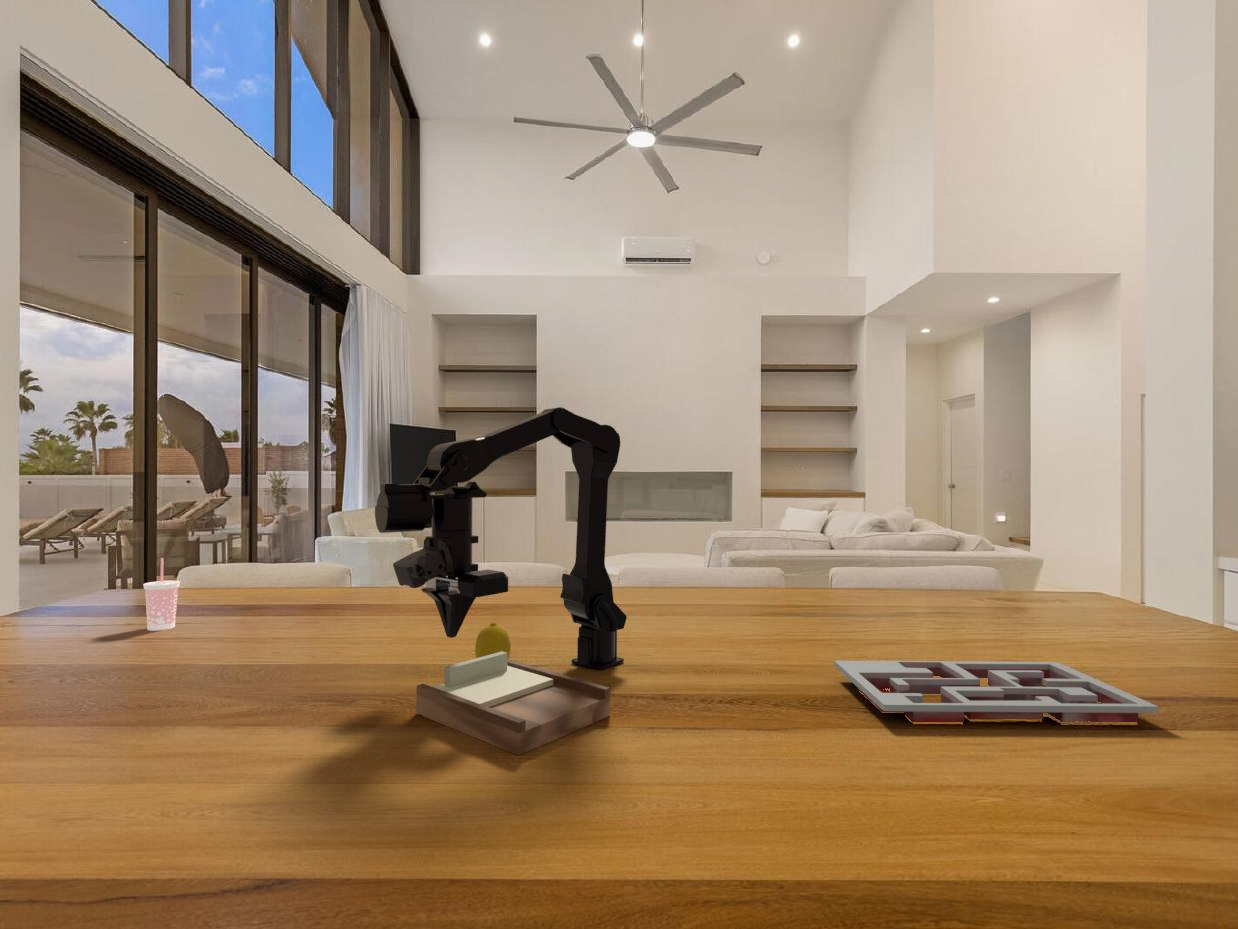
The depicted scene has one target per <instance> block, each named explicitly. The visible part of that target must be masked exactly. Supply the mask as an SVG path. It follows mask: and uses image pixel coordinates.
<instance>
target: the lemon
mask: <svg viewBox="0 0 1238 929" xmlns="http://www.w3.org/2000/svg"><path fill="white" fill-rule="evenodd" d="M511 646H512V644H511V637H510V636H509V633H508V631H507V630H506V629H505V628H504V627H503V626H502V625H499V624H497V623H496V622H491V623H490V624H489V625H487V626H484V627H483V628H482V629H481V630H480V631H479V632H478V635H477V637H476V641H475V645H474V648H475V652H474V653H475V659H476V658H479V657H483V656H487V655H490V654H494V653H498V652H506V653H507V660H508V659H509V660H510V655H511V650H512V649H511V648H512V647H511Z"/></svg>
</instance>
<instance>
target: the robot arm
mask: <svg viewBox="0 0 1238 929" xmlns="http://www.w3.org/2000/svg"><path fill="white" fill-rule="evenodd" d="M549 437H553V438H555V439H556V440H557V441H558V442H559V443H560V444H562V445H564V446H566V448H570V449H571V450H570V452H571V461H572V464H573V466H574V469H575V471H576V474H577V476H578V497H577V499H578V501H577V502H578V503H577V519H576V520H577V522H576V543H575V545H576V546H575V562H574V566H573V567H572V569H571V571H570V573H563V574H562V576H561V582H562V589H561V594H560V595H559V597H560V598H561V599H563V605H564V608H565V609H566V610H567V612H569V613H570V616H571V619H572V622H573V623H575V624H579V625H580V626H578V637H577V645H576V646H577V651H576V652H577V656H576V657H575V658H571V663H572V664H577V665H580V666H583V667H588V668H591V669H595V670H604V669H607V668H609V667H612V666H615V665H618V664H621V663H623V662H624V661H625V659H624V658H623V657H619V656H618V650H617V649H618V631H619V630H624V628H625V625H626V621H627V614H625V613H624V611H623V610H622V609H620V606H618V605H617V604H616V602H614V593H613V583H612V581H611V578H610V575H609V573H608V570H607V568H606V563H605V562H606V559H605V558H606V543H607V542H606V541H607V540H606V538H607V521H608V520H607V518H608V516H607V515H608V493H609V480H610V477H611V475H612V473H613V471H614V469H615V468H616V465H617V463H618V459H619V454H620V451H621V450H620V449H621V436H620V434H619V433H618V432H617V431H616V429H615V428H614V427H613V426H611V425H608V424H600V423H598V422H596V421H594V420H592V419H588V418H586V417H583V416H581V415H578V414H575V413H574V412H572V411H570V410H568V409H566V408H564V407H561V406H560V407H551V408H546V409H544V410H543V411H541V412H539V413H537V414H535V415H533V416H530V417H526V418H525V419H521V420H520V421H517V422H515V423H513V424H509V425H507V426H504V427H502V428H500V429H497V430H495V431H492V432H489V433H488V434H485V435H482V436H478V437H477V436H476V437H473V438H466V439H462V440H456V441H455V440H454V441H450V442H445V443H440V444H437V445H435V446H434V447H432V448H431V449H430V451H429V453H428V456H427V460H426V461H427V462H426V465H425V467H424V468H422V469H423V470H422V471H421V472H420V474H419V475H418V476H417V477H416V478H415V480H414V481H413V483H412V484H411V483H409V484H406V483H405V484H399V483H392V482H383V483H380V492H379V494H378V496H377V500H376V505H375V507H374V518H375V524H376V528H377V530H378V532H379V533H380V534H387V533H388V534H390V533H405V532H406V533H407V532H422V531H424V530H425V529H426V527H427V525H428V526H429V525H430V524H431V536H430V535H429V536H425V539H424V540H423V548H421V549H419V550H417V551H414V552H412V553H410V554H408V555H406V556H404V557H403V558H400V559H398V560H396V561H395V562H393V563H392V567H393V569H394V572H395V576H396V579H397V583H398V585H399V586H400V587H402V586H406V587H410V588H411V589H418V588H421V587H423V586H425V588H424V587H423V588H421V589H420V590H421V592H422V593H424V594H426V595H427V596H428V597H430V598H431V599H432V600H433V601H434V603H435V605H436V608H437V610H438V614H439V617H440V620H441V623H442V625H443V629H444V632H445V635H446V637H447V638H450V639H452V638H456V637H457V635H458V633H459V632H460V629H461V627H462V625H463V623H464V621H465V618H466V617H467V614H468V612H469V610H470V609H471V607H472V605H473V603H474V601H475V600H476V598H481V597H482V598H483V597H486V596H487V597H488V596H492V595H493V596H494V595H498V594H503V593H507V592H509V577H508V575H506V573H505V572H504V571H499V570H493V569H483V570H479V563H473V544H478V543H479V535H473V499H475V498H477V499H479V498H487V496H488V494H487V492H486V491H484V490H483V489H482V488H481V487H480V486H479V485H478V482H476V481H471V480H472V479H474V478H475V477H477V476H479V475H480V474H481V473H483V472H484V471H486V470H487V469H488V468H489V467H490V466H491V465H492V464H493V463H494V462H495V461H498V460H499V459H500V458H502V457H505V456H508V455H509V454H512V453H514V452H516V451H519V450H522V449H523V448H526V447H528V446H530V445H533V444H535V443H538V442H540V441H542V440H545V439H547V438H549ZM466 482H467V483H466ZM457 483H458V484H459V483H460V484H462V483H463V484H464V483H466V484H465V485H464V486H453V485H455V484H457ZM431 491H442V493H436V494H435V493H434V494H431Z"/></svg>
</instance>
